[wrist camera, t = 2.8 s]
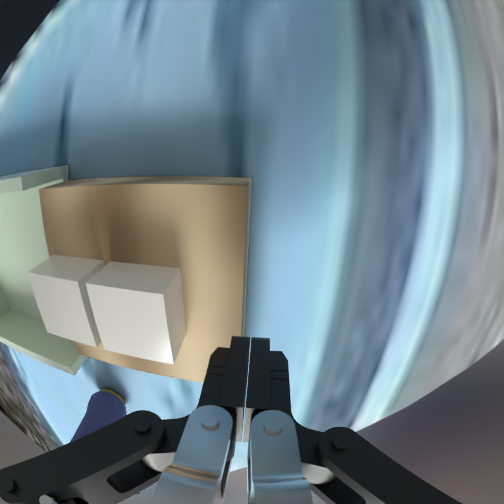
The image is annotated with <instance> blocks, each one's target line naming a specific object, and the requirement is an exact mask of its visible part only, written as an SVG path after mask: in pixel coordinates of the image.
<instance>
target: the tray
mask: <svg viewBox="0 0 504 504" xmlns="http://www.w3.org/2000/svg"><path fill="white" fill-rule="evenodd" d="M67 180H69V172H68V165H66V166H58V167H51V168H44V169H38V170H32V171H26V172H20V173H15V174H10V175H5V176H0V341H1V342H2V343H4V344H6V345H8V346H10V347H12V348H14V349H16V350H18V351H20V352H22V353H24V354H26V355H28V356H30V357H32V358H34V359H36V360H39V361H41V362H43V363H45V364H48V365H50V366H52V367H55V368H57V369H60V370H62V371H65V372H67V373H70V374H72V375H75V374H76V373H77V371H78V370H79V369H80V367H81V366H82V364H83V363H84V362H85V360H86V359H87V356H84V355H80V354H79V353H78V350H77V348H76V345H75V343H74V341H73V340H70V339H66V338H63V337H60V336H57V335H54V334H51V333H48V332H47V330H46V327H45V325H44V322H43V319H42V317H41V314H40V311H39V308H38V305H37V302H36V299H35V296H34V293H33V289H32V286H31V283H30V279H29V276H28V272H29V271H30V270H32V269H33V268H34V267H36V266H37V265H39V264H40V263H42V262H43V261H45V260H46V259H48V258H49V254H48V249H47V244H46V239H45V233H44V227H43V220H42V213H41V205H40V195H39V189H41V188H44V187H47V186H51V185H54V184H57V183H61V182H64V181H67Z"/></svg>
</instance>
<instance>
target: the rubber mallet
mask: <svg viewBox="0 0 504 504" xmlns="http://www.w3.org/2000/svg"><path fill="white" fill-rule="evenodd" d="M124 416H126V407H125V401H124V399H123V398H122V397H121V396H120V395H119V394H117V393H115V392H114V391H112V390H109V389H102V390H101V391H99V392H96V393H94V394H93V395H92V396H91V398H90V400H89V403H88V407H87V412H86V414H85V416H84V418H83V420H82V422H81V423H80V425H79V427H78V429H77V431H76V433H75V435H74V436H73V438H72V440H71V441H70V442H73V441H75V440H77V439H79V438H81V437H84V436H86V435H88V434H90V433H92V432H94V431H96V430H98V429H100V428H103V427H105V426H107V425H109V424H111V423H113V422H115V421H117V420H119V419H120V418H122V417H124Z"/></svg>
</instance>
